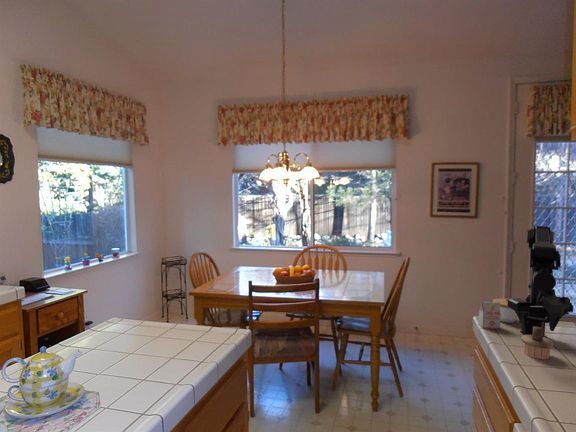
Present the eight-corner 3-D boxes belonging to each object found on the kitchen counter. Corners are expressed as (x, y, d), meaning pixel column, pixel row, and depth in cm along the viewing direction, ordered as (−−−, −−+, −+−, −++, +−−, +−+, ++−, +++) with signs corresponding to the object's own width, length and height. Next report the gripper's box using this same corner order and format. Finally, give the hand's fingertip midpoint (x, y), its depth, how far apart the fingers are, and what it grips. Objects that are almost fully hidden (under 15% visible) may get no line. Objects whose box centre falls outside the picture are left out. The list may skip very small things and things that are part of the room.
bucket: (539, 350, 132) (540, 338, 132) (554, 359, 125) (555, 347, 125) (519, 350, 132) (520, 338, 131) (533, 359, 125) (534, 347, 124)
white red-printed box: (478, 324, 155) (479, 300, 155) (495, 325, 155) (496, 301, 155) (482, 328, 152) (484, 303, 151) (499, 328, 152) (501, 303, 151)
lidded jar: (525, 325, 156) (526, 302, 155) (496, 323, 158) (497, 300, 157) (515, 317, 166) (516, 295, 166) (488, 314, 168) (489, 293, 168)
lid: (540, 337, 133) (542, 323, 132) (560, 348, 124) (561, 333, 123) (515, 337, 132) (516, 323, 132) (533, 348, 123) (534, 333, 123)
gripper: (530, 290, 118) (526, 340, 119) (589, 291, 119) (585, 340, 120) (508, 281, 129) (505, 327, 130) (562, 282, 130) (558, 327, 131)
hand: (538, 330), depth 128 cm, fingers open, 9 cm apart
